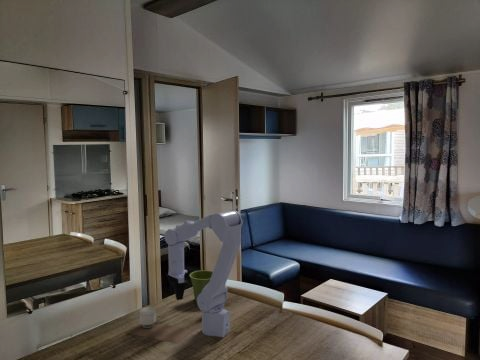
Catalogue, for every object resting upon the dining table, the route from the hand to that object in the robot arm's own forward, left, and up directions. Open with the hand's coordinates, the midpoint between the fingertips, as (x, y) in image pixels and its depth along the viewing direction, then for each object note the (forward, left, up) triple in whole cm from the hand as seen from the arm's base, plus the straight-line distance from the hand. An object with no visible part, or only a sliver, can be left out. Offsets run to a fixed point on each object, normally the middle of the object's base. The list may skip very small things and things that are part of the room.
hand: (177, 295), depth 140 cm
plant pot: (-1, -20, -10) cm, 23 cm away
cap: (+6, +10, -7) cm, 13 cm away
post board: (0, +12, -9) cm, 15 cm away
